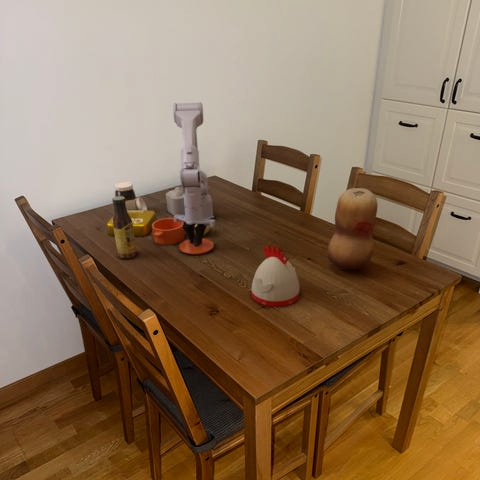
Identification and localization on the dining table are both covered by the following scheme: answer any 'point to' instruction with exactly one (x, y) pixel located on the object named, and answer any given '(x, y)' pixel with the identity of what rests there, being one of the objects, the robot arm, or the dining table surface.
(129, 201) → the spread jar
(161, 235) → the pot
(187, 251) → the pot lid
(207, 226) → the potato
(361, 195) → the butternut squash
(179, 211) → the lumpy-topped squat cylinder
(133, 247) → the sauce bottle
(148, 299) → the dining table surface
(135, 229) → the yellow square tin
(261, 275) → the kitchen timer
